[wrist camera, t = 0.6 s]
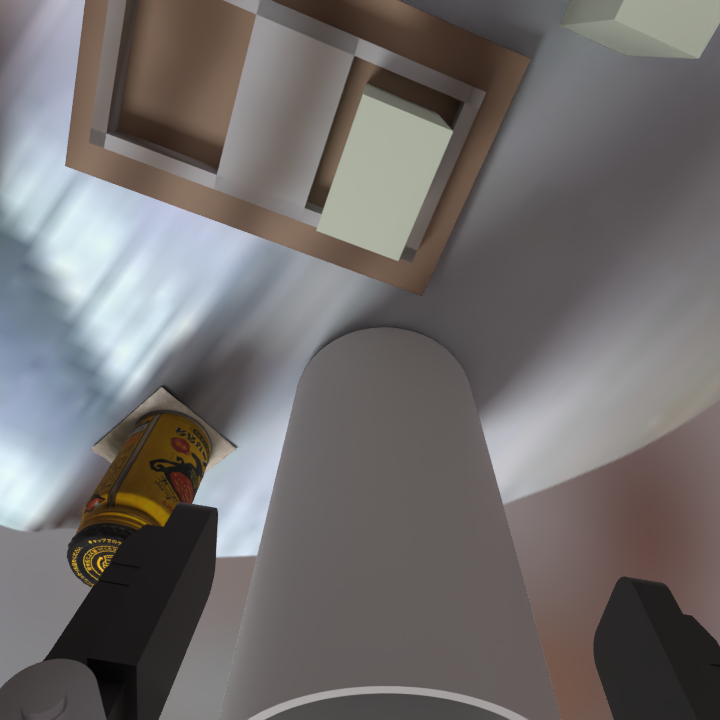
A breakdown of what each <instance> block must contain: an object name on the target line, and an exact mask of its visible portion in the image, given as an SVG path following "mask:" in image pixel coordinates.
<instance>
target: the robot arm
mask: <svg viewBox="0 0 720 720" xmlns="http://www.w3.org/2000/svg"><path fill="white" fill-rule="evenodd" d="M217 524H218V511H217V508H214V507H207V506H201V505H195V504H189V503H183V502H179V503H178V504H177V505H176V506H175V508H174V510H173V511H172V513H171V515H170V517H169V518H168V520H167V522H166V523H165V525H164V527H161V526H155V525H149V524H145V525H144V526H143V527H141V528H140V529H139V530H137V531H136V532H134V533H133V534H132V535H130V536H129V537H128V538H126V539H125V540H124V541H123V542H122V543H121V545H120V547H119V548H118V550H117V551H116V553H115V554H114V556H113V557H112V559H111V560H110V562H109V565H108V566H106V568H105V569H104V571H103V572H102V574H101V575H100V577H99V578H98V581H97V584H94V586H93V587H92V589H91V591H90V592H89V593H88V595H87V597H86V598H85V600H84V601H83V603H82V604H81V606H80V607H79V609H78V610H77V612H76V613H75V615H74V616H73V618H72V619H71V621H70V622H69V624H68V625H67V627H66V629H65V630H64V632H63V633H62V635H61V636H60V637H59V639H58V640H57V642H56V644H55V645H54V647H53V648H52V650H51V651H50V653H49V654H48V655H47V656H46V658H45V659H44V660H43V661H42V662H40V663H36V664H34V665H32V666H29V667H27V668H25V669H24V670H22V671H20V672H19V673H17V674H16V675H14V676H13V677H12V678H11V679H9V680H8V682H6V683H5V684H4V685H3V686H2V687H1V688H0V720H158V719H159V717H160V715H161V712H162V710H163V707H164V705H165V702H166V700H167V697H168V695H169V693H170V690H171V688H172V685H173V683H174V680H175V678H176V676H177V673H178V671H179V668H180V666H181V663H182V660H183V658H184V656H185V654H186V651H187V648H188V646H189V644H190V641H191V639H192V636H193V634H194V631H195V629H196V627H197V624H198V622H199V619H200V617H201V614H202V612H203V609H204V607H205V604H206V602H207V600H208V597H209V594H210V591H211V587H212V582H213V578H214V573H215V562H216V543H217ZM594 659H595V664H596V668H597V671H598V674H599V677H600V680H601V683H602V686H603V689H604V692H605V694H606V697H607V700H608V703H609V706H610V709H611V712H612V715H613V718H614V720H720V646H719V645H718V643H717V641H716V640H715V639H714V638H713V637H712V636H711V635H710V634H709V633H708V632H707V631H706V630H705V629H704V628H703V627H702V626H701V625H700V623H699V622H697V620H695V619H694V617H692V616H690V615H684V614H683V613H682V611H681V610H680V608H679V606H678V604H677V602H676V600H675V599H674V597H673V595H672V593H671V591H670V590H669V588H668V587H667V586H666V585H665V584H664V583H661V582H654V581H648V580H642V579H636V578H630V577H621V578H620V579H619V580H618V581H617V583H616V585H615V587H614V590H613V592H612V594H611V597H610V599H609V601H608V604H607V606H606V608H605V611H604V613H603V616H602V618H601V620H600V623H599V625H598V627H597V630H596V633H595V637H594Z"/></svg>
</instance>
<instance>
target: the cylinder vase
mask: <svg viewBox="0 0 720 720" xmlns="http://www.w3.org/2000/svg"><path fill="white" fill-rule="evenodd" d="M219 720H561V716H560V712H559V709H558V705H557V701H556V698H555V694H554V690H553V687H552V683H551V679H550V676H549V672H548V668H547V665H546V661H545V657H544V654H543V650H542V647H541V643H540V639H539V635H538V631H537V628H536V624H535V621H534V617H533V613H532V609H531V606H530V602H529V598H528V595H527V591H526V587H525V584H524V580H523V576H522V573H521V569H520V565H519V562H518V558H517V555H516V551H515V547H514V544H513V540H512V536H511V532H510V529H509V525H508V521H507V518H506V515H505V511H504V507H503V503H502V499H501V496H500V492H499V488H498V485H497V481H496V477H495V474H494V470H493V466H492V463H491V459H490V455H489V452H488V448H487V444H486V441H485V437H484V433H483V430H482V426H481V422H480V419H479V415H478V411H477V408H476V404H475V400H474V397H473V393H472V389H471V386H470V382H469V380H468V377H467V375H466V373H465V371H464V369H463V368H462V366H461V365H460V363H459V362H458V361H457V359H456V358H455V357H454V356H453V355H452V354H451V353H450V352H449V351H448V350H447V349H446V348H444V347H443V346H442V345H440V344H439V343H437V342H436V341H434V340H432V339H430V338H429V337H426V336H424V335H422V334H419V333H416V332H413V331H410V330H406V329H400V328H391V327H377V328H368V329H363V330H358V331H355V332H352V333H349V334H346V335H344V336H342V337H340V338H338V339H336V340H334V341H332V342H331V343H329V344H328V345H327V346H325V347H324V348H323V349H321V350H320V351H319V352H318V353H317V354H316V355H315V356H314V357H313V358H312V360H311V361H310V362H309V363H308V365H307V366H306V368H305V370H304V371H303V373H302V375H301V378H300V380H299V383H298V386H297V390H296V394H295V398H294V402H293V407H292V411H291V415H290V419H289V424H288V428H287V432H286V436H285V441H284V445H283V449H282V453H281V458H280V462H279V466H278V470H277V475H276V479H275V483H274V487H273V492H272V496H271V500H270V504H269V509H268V513H267V517H266V521H265V525H264V530H263V534H262V538H261V542H260V547H259V551H258V555H257V559H256V564H255V569H254V572H253V576H252V581H251V585H250V590H249V594H248V598H247V602H246V606H245V610H244V615H243V619H242V623H241V627H240V632H239V636H238V640H237V644H236V648H235V653H234V657H233V661H232V666H231V670H230V674H229V678H228V682H227V687H226V691H225V695H224V699H223V704H222V708H221V712H220V717H219Z"/></svg>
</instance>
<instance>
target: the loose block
mask: <svg viewBox="0 0 720 720" xmlns="http://www.w3.org/2000/svg"><path fill="white" fill-rule="evenodd" d="M719 24H720V0H571V2H570V4H569V6H568V8H567V11H566V13H565V15H564V17H563V19H562V21H561V23H560V26H562V27H564V28H566V29H568V30H570V31H573V32H575V33H577V34H579V35H581V36H584V37H586V38H588V39H590V40H592V41H595V42H597V43H599V44H601V45H603V46H606V47H608V48H610V49H612V50H614V51H617V52H619V53H621V54H623V55H625V56H643V57H667V58H691V59H699V58H700V56H701V54H702V53H703V51H704V49H705V47H706V46H707V44H708V42H709V41H710V39H711V37H712V36H713V34H714V32H715V30H716V29H717V27H718V25H719Z"/></svg>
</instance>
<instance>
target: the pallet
mask: <svg viewBox="0 0 720 720" xmlns="http://www.w3.org/2000/svg"><path fill="white" fill-rule="evenodd" d="M530 60H531V59H530V58H528V57H525V56H523V55H521V54H519V53H516V52H514V51H512V50H510V49H507V48H505V47H503V46H500V45H498V44H496V43H494V42H491V41H489V40H487V39H485V38H482V37H480V36H478V35H476V34H473V33H471V32H469V31H467V30H464V29H462V28H460V27H457V26H455V25H453V24H451V23H448V22H446V21H444V20H442V19H439V18H437V17H435V16H433V15H430V14H428V13H426V12H424V11H421V10H419V9H417V8H415V7H412V6H410V5H408V4H405V3H403V2H401V1H399V0H85V8H84V16H83V24H82V32H81V41H80V49H79V57H78V65H77V73H76V82H75V90H74V98H73V106H72V115H71V123H70V131H69V139H68V147H67V156H66V164H65V166H67V167H69V168H72V169H75V170H78V171H80V172H83V173H86V174H89V175H91V176H94V177H97V178H100V179H102V180H105V181H108V182H111V183H113V184H116V185H119V186H122V187H124V188H127V189H130V190H132V191H135V192H138V193H141V194H143V195H146V196H149V197H152V198H154V199H157V200H160V201H163V202H165V203H168V204H171V205H174V206H176V207H179V208H182V209H185V210H187V211H190V212H193V213H196V214H198V215H201V216H204V217H207V218H209V219H212V220H215V221H217V222H220V223H223V224H226V225H228V226H231V227H234V228H237V229H239V230H242V231H245V232H248V233H250V234H253V235H256V236H259V237H261V238H264V239H267V240H270V241H272V242H275V243H278V244H281V245H283V246H286V247H289V248H292V249H294V250H297V251H300V252H302V253H305V254H308V255H311V256H313V257H316V258H319V259H322V260H324V261H327V262H330V263H333V264H335V265H338V266H341V267H344V268H346V269H349V270H352V271H355V272H357V273H360V274H363V275H366V276H368V277H371V278H374V279H377V280H379V281H382V282H385V283H388V284H390V285H393V286H396V287H398V288H401V289H404V290H407V291H409V292H412V293H415V294H418V295H420V296H422V295H423V293H424V290H425V288H426V286H427V284H428V282H429V280H430V277H431V275H432V273H433V271H434V269H435V267H436V264H437V262H438V260H439V258H440V256H441V253H442V251H443V249H444V247H445V245H446V243H447V240H448V238H449V236H450V234H451V232H452V229H453V227H454V225H455V223H456V221H457V219H458V216H459V214H460V212H461V210H462V208H463V206H464V203H465V201H466V199H467V197H468V195H469V192H470V190H471V188H472V186H473V184H474V182H475V179H476V177H477V175H478V173H479V171H480V168H481V166H482V164H483V162H484V160H485V158H486V155H487V153H488V151H489V149H490V147H491V145H492V142H493V140H494V138H495V136H496V134H497V131H498V129H499V127H500V125H501V123H502V121H503V118H504V116H505V114H506V112H507V110H508V107H509V105H510V103H511V101H512V99H513V97H514V94H515V92H516V90H517V88H518V86H519V84H520V81H521V79H522V77H523V75H524V73H525V70H526V68H527V66H528V64H529V62H530ZM366 83H368V84H370V85H373V86H375V87H378V88H380V89H382V90H385V91H387V92H390V93H392V94H394V95H397V96H399V97H402V98H404V99H406V100H409V101H411V102H414V103H416V104H418V105H421V106H423V107H426V108H428V109H430V110H433V111H435V112H437V113H438V114H439V116H440V117H441V118H442V119H443V120H444V121H445V122H446V124H447V125H448V126H449V127H450V128H451V129H452V130H453V133H452V136H451V138H450V140H449V143H448V145H447V148H446V150H445V152H444V155H443V157H442V159H441V162H440V164H439V166H438V169H437V171H436V173H435V176H434V178H433V181H432V183H431V185H430V188H429V190H428V192H427V195H426V197H425V199H424V202H423V204H422V206H421V209H420V211H419V214H418V216H417V218H416V221H415V223H414V225H413V228H412V230H411V232H410V235H409V237H408V239H407V242H406V244H405V247H404V249H403V251H402V254H401V256H400V258H399V261H396V260H394V259H391V258H388V257H386V256H383V255H380V254H378V253H375V252H372V251H369V250H367V249H364V248H361V247H359V246H356V245H353V244H351V243H348V242H345V241H343V240H340V239H337V238H335V237H332V236H329V235H326V234H324V233H321V232H318V231H316V230H317V227H318V224H319V221H320V218H321V215H322V212H323V209H324V206H325V203H326V200H327V197H328V194H329V191H330V188H331V185H332V182H333V179H334V176H335V173H336V170H337V167H338V164H339V161H340V158H341V156H342V153H343V150H344V147H345V144H346V141H347V138H348V135H349V132H350V129H351V126H352V123H353V121H354V118H355V115H356V112H357V109H358V106H359V103H360V100H361V97H362V94H363V91H364V88H365V86H366Z"/></svg>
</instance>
